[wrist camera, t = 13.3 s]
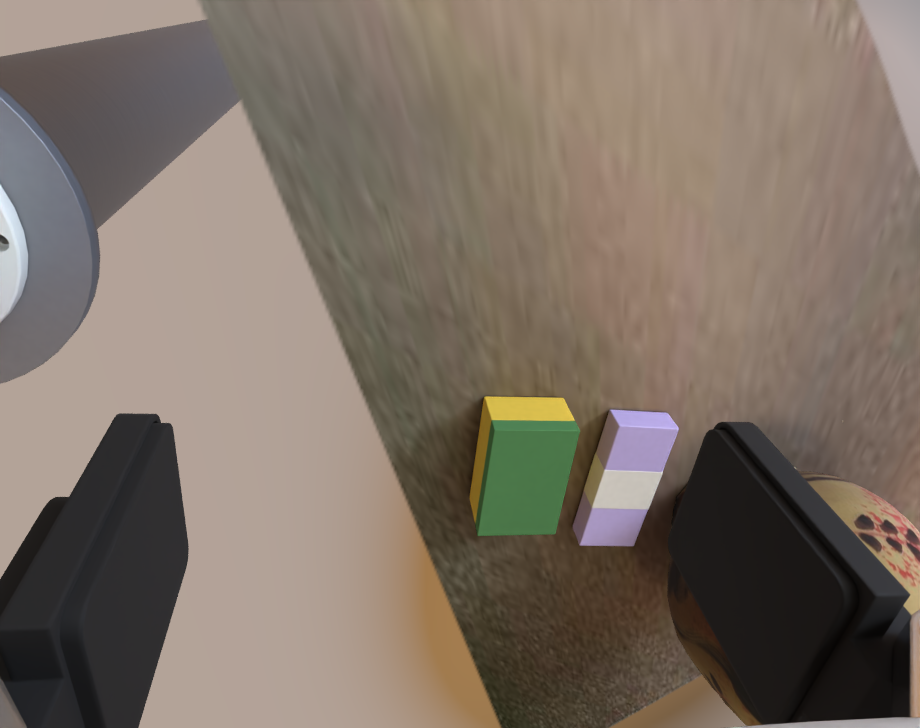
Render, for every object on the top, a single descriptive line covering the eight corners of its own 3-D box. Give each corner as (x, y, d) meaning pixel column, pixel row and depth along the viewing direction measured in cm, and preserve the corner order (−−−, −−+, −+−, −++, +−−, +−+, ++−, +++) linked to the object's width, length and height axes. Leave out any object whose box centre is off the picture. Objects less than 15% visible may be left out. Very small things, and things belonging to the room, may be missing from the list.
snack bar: (625, 527, 46) (634, 547, 44) (571, 526, 45) (579, 546, 43) (667, 412, 41) (680, 428, 39) (608, 408, 40) (618, 425, 39)
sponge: (483, 395, 39) (494, 429, 36) (563, 397, 39) (580, 430, 36) (469, 497, 42) (477, 536, 39) (541, 497, 43) (555, 534, 40)
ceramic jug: (697, 611, 52) (1028, 1221, 26) (592, 514, 45) (905, 1221, 19) (889, 492, 48) (1505, 1077, 22) (807, 365, 41) (1574, 1008, 15)
